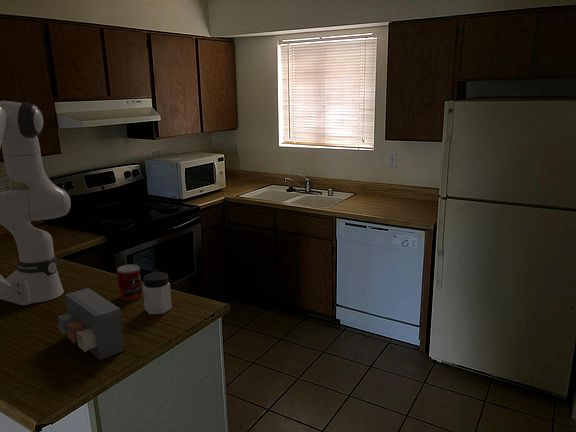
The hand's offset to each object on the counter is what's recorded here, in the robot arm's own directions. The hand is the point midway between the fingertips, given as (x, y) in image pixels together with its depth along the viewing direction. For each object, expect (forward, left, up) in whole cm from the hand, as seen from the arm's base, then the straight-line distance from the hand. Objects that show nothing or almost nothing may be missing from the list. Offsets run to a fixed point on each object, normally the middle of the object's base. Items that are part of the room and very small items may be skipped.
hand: (12, 288), depth 133 cm
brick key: (+15, +8, -16) cm, 23 cm away
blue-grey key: (+9, +11, -16) cm, 22 cm away
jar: (+23, +35, -20) cm, 46 cm away
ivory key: (+21, +4, -16) cm, 27 cm away
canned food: (+8, +42, -20) cm, 47 cm away
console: (+17, +10, -19) cm, 28 cm away
